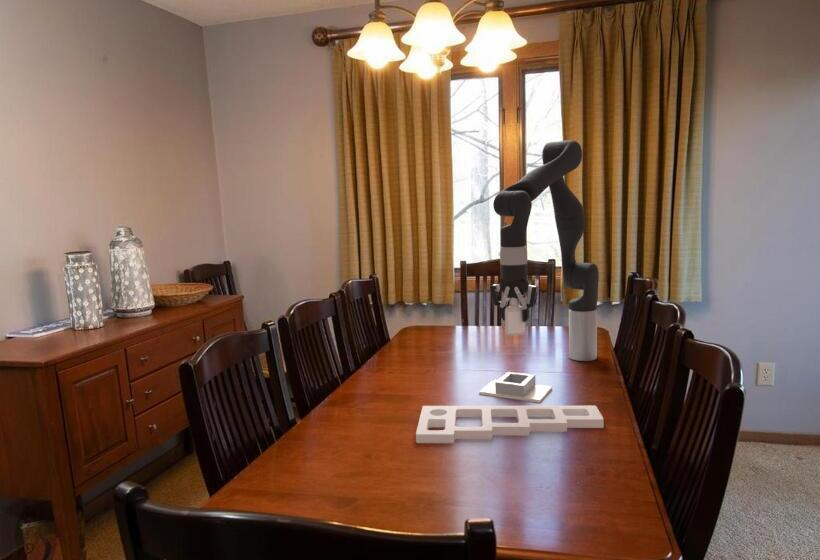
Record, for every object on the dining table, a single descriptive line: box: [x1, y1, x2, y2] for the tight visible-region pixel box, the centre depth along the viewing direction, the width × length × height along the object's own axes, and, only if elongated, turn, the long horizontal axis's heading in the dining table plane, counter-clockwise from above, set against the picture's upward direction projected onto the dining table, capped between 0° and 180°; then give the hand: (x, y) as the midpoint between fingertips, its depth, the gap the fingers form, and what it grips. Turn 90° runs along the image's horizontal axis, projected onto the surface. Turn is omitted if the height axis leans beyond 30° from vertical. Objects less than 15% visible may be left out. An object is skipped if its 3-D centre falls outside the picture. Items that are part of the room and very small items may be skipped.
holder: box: [415, 405, 605, 444], centre depth 136 cm, size 45×18×3 cm, turn 83°
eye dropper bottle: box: [504, 297, 526, 336], centre depth 157 cm, size 4×6×12 cm
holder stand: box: [478, 371, 553, 404], centre depth 160 cm, size 12×18×4 cm, turn 60°
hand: (514, 320), depth 157 cm, fingers closed on eye dropper bottle, 5 cm apart
